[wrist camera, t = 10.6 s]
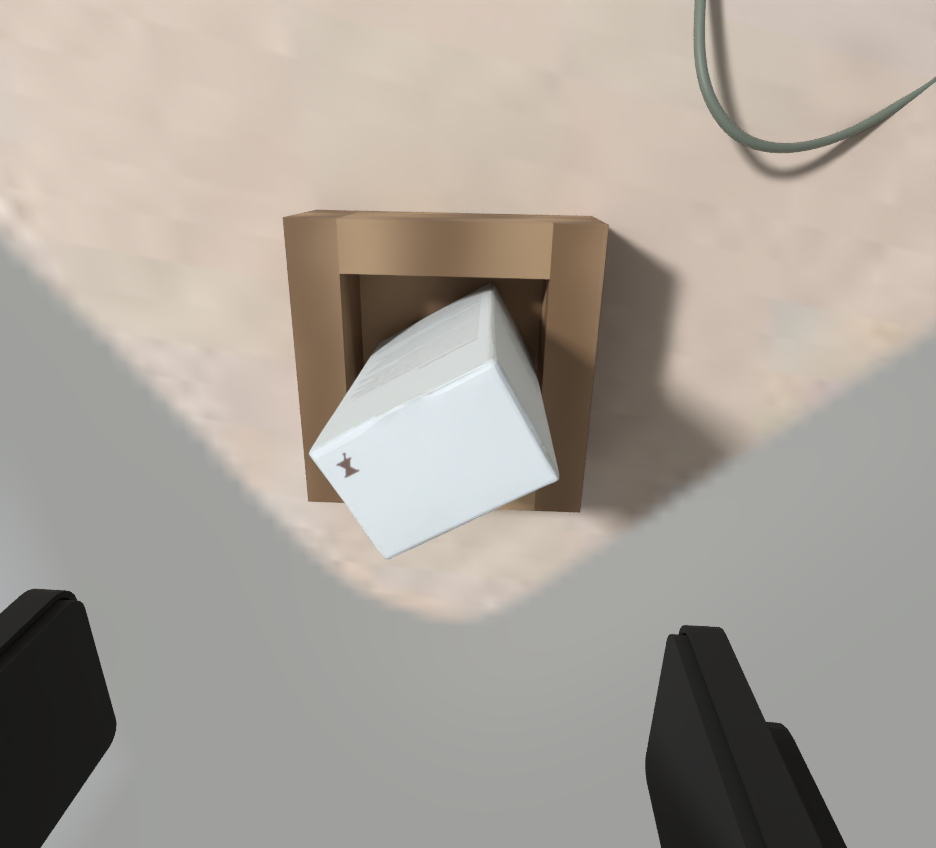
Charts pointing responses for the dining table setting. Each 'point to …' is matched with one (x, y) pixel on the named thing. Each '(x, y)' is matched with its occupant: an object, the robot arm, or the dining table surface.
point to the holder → (436, 286)
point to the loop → (755, 142)
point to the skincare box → (439, 426)
